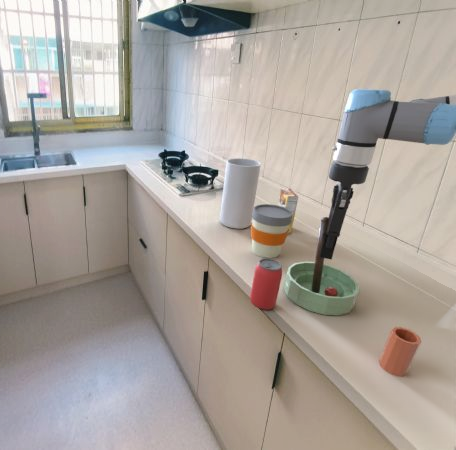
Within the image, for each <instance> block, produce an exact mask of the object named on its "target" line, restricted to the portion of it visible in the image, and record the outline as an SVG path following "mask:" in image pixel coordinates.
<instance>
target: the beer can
mask: <svg viewBox="0 0 456 450" xmlns="http://www.w3.org/2000/svg"><path fill="white" fill-rule="evenodd" d="M282 267H283V265H282V264H281V262H279V261H278V260H276V259H274V258H265V257H264V258H261V259H259V260H258V263H257V264H256V266H255V268H254V274H253V281H252V285H251V290H250V296H249V301H250V303H251V305H253V306H254V307H255V308H258V309H260V310H264V311H265V310H266V311H267V310H271V309H274V308H275V307H276V305H277V300H278V296H279V292H280V291H279V290H280V287H281V282H282V277H283V268H282Z"/></svg>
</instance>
